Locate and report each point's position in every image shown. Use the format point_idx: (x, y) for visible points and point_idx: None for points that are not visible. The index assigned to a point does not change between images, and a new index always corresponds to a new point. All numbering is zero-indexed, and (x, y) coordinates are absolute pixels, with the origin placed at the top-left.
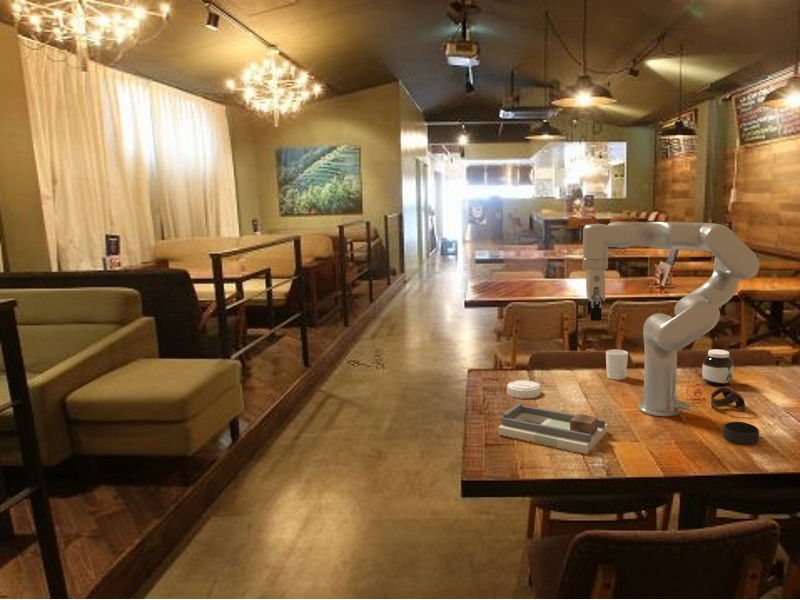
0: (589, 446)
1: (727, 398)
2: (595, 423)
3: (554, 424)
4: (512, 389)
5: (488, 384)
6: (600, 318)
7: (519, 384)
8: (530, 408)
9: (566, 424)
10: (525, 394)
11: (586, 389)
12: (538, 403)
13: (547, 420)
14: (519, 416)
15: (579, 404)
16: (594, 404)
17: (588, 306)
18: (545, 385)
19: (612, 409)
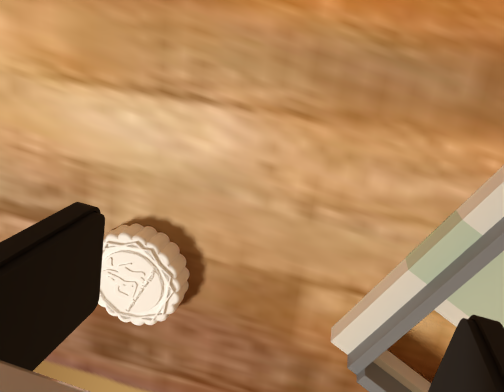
0: None
1: None
2: None
3: (489, 306)
4: (163, 320)
5: (72, 334)
6: (500, 343)
7: (132, 296)
8: (383, 351)
9: (501, 273)
10: (183, 285)
11: (114, 70)
12: (234, 258)
13: (449, 313)
14: (394, 371)
15: (257, 142)
16: (263, 92)
17: (36, 363)
18: (76, 190)
19: (321, 45)
